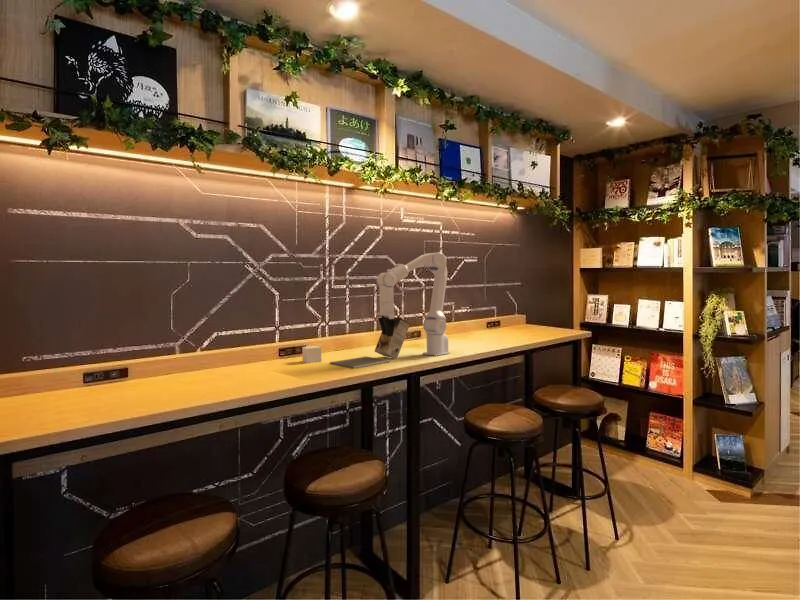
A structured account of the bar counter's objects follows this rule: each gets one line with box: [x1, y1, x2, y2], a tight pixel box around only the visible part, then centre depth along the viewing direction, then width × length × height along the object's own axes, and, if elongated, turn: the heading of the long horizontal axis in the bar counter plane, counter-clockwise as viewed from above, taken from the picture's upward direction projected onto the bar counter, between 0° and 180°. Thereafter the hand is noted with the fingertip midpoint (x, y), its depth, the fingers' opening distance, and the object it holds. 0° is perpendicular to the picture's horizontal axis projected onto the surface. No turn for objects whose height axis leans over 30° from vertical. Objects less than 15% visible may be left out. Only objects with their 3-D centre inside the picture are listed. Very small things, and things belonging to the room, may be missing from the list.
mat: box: [329, 356, 392, 369], centre depth 182 cm, size 18×16×1 cm
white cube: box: [301, 345, 322, 364], centre depth 188 cm, size 6×6×6 cm
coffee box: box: [374, 316, 411, 360], centre depth 193 cm, size 9×6×16 cm
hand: (387, 335), depth 187 cm, fingers open, 7 cm apart
